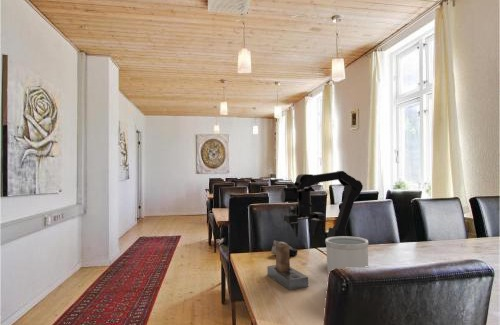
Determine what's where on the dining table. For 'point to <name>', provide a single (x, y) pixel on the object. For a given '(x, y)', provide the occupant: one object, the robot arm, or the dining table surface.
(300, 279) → the grey peg hole block
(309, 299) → the dining table surface
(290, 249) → the caster wheel
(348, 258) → the utensil holder
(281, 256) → the walnut peg
